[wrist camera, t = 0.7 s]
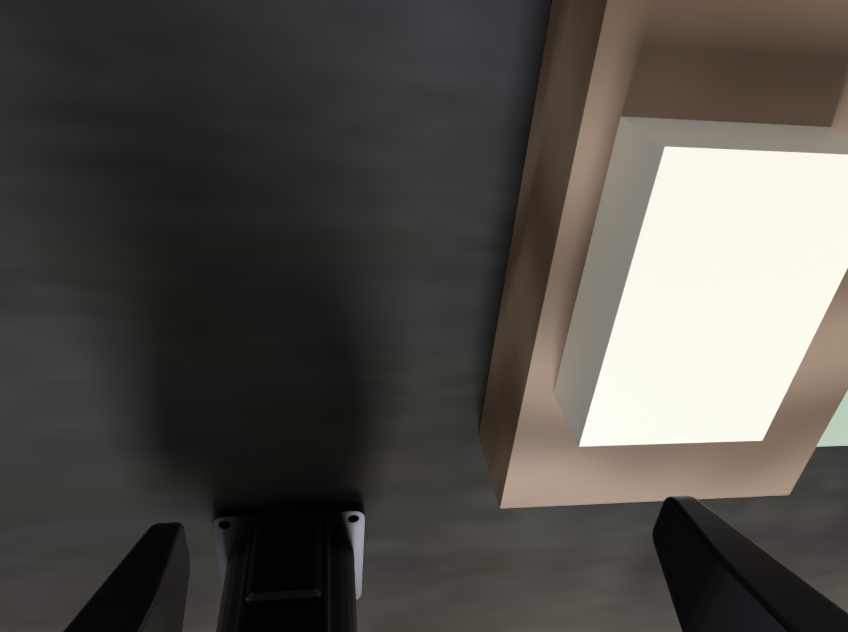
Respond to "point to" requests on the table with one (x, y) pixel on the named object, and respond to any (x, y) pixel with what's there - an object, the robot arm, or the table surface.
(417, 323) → the table surface
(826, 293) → the tile
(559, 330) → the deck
